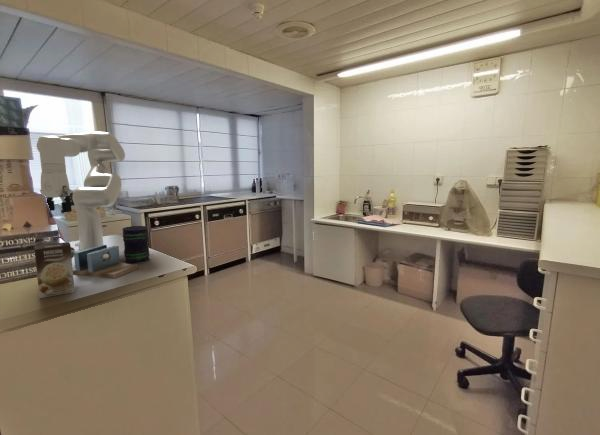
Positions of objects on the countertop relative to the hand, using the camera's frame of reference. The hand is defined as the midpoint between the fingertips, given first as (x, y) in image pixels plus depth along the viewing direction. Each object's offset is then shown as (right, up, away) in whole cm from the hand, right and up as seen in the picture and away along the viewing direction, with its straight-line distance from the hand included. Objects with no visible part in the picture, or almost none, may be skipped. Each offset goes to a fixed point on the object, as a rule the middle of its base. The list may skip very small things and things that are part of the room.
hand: (58, 211), depth 120 cm
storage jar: (+25, -22, +13) cm, 36 cm away
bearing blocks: (+17, -22, -1) cm, 28 cm away
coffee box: (+18, -28, -22) cm, 40 cm away
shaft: (+11, -20, 0) cm, 23 cm away
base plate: (+20, -24, -1) cm, 31 cm away
